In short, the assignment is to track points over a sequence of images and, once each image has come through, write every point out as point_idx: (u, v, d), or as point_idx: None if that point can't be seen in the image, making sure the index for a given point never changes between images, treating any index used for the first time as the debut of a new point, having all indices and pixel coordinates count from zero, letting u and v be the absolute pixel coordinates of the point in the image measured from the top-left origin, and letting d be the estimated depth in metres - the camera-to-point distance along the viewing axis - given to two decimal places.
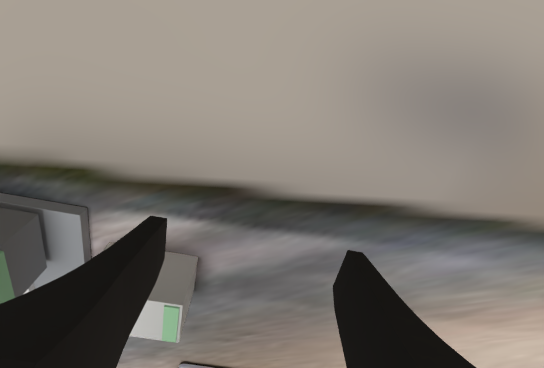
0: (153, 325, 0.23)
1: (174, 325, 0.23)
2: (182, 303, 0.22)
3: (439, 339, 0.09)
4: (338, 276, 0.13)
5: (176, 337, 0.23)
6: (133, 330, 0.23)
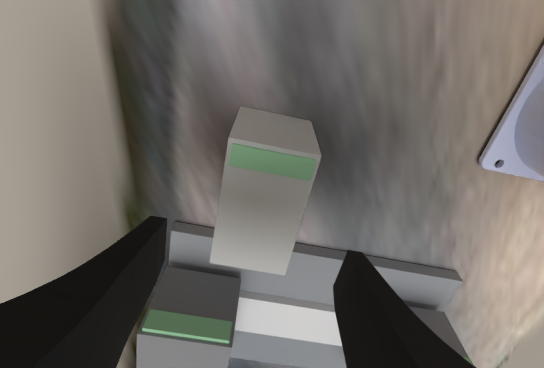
0: (277, 187, 0.14)
1: (273, 157, 0.14)
2: (229, 137, 0.14)
3: (439, 339, 0.09)
4: (338, 276, 0.13)
5: (304, 157, 0.14)
6: (288, 216, 0.15)
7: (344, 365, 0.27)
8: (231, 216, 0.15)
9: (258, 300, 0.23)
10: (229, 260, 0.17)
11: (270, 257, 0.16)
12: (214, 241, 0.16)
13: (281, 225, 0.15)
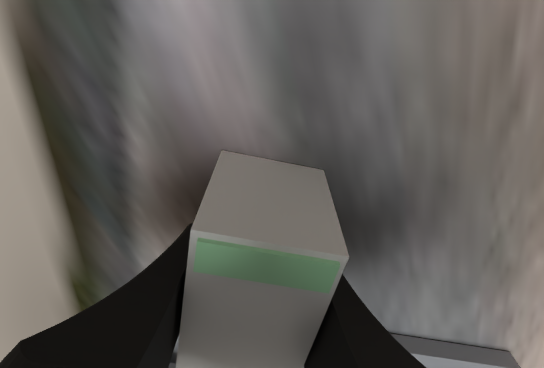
0: (274, 299, 0.09)
1: (268, 259, 0.08)
2: (193, 227, 0.08)
3: (385, 331, 0.08)
4: None
5: (320, 260, 0.08)
6: (293, 335, 0.10)
7: None
8: (202, 336, 0.10)
9: None
10: None
11: None
12: (178, 366, 0.10)
13: (282, 348, 0.10)
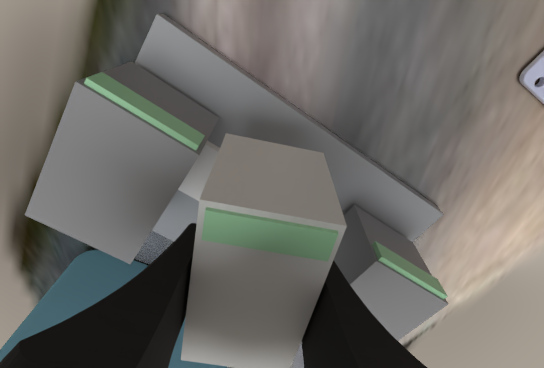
0: (277, 267, 0.09)
1: (271, 228, 0.09)
2: (202, 197, 0.09)
3: (385, 331, 0.08)
4: None
5: (319, 229, 0.09)
6: (294, 304, 0.10)
7: None
8: (209, 305, 0.10)
9: None
10: (208, 357, 0.12)
11: (267, 354, 0.11)
12: (186, 335, 0.11)
13: (283, 316, 0.10)
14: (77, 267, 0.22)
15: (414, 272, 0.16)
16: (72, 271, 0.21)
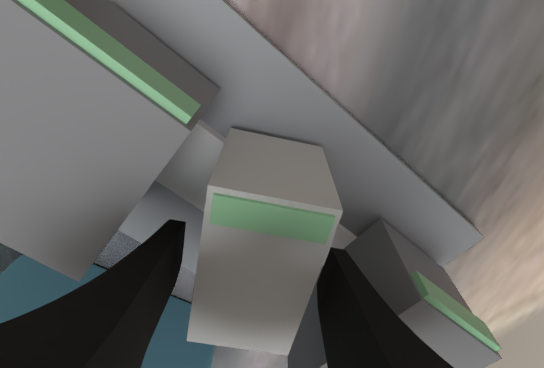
0: (278, 250, 0.10)
1: (273, 212, 0.09)
2: (210, 183, 0.09)
3: (414, 335, 0.09)
4: (321, 273, 0.13)
5: (318, 213, 0.09)
6: (294, 286, 0.11)
7: None
8: (214, 286, 0.11)
9: None
10: (213, 338, 0.12)
11: (268, 335, 0.12)
12: (192, 316, 0.12)
13: (284, 298, 0.11)
14: (17, 271, 0.17)
15: (463, 315, 0.12)
16: (9, 277, 0.16)
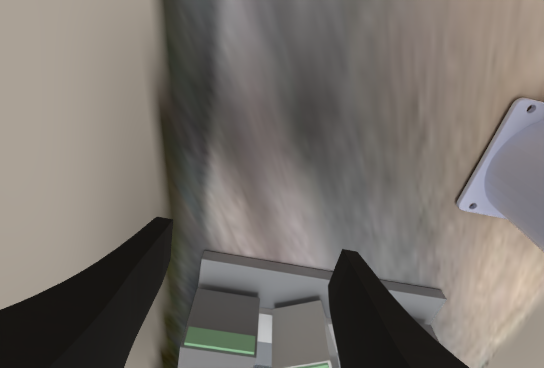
0: None
1: None
2: (272, 367, 0.22)
3: (431, 338, 0.09)
4: (333, 275, 0.13)
5: (319, 365, 0.21)
6: None
7: None
8: None
9: None
10: None
11: None
12: None
13: None
14: None
15: None
16: None
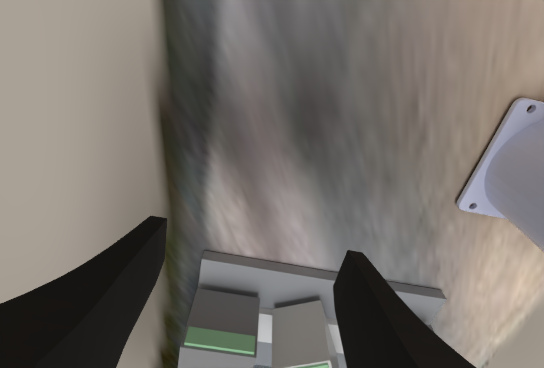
0: None
1: None
2: (272, 367, 0.22)
3: (439, 339, 0.09)
4: (338, 276, 0.13)
5: (319, 365, 0.21)
6: None
7: None
8: None
9: None
10: None
11: None
12: None
13: None
14: None
15: None
16: None
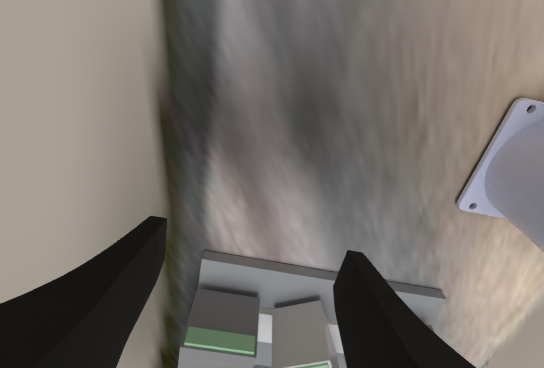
0: None
1: None
2: (272, 367, 0.22)
3: (439, 339, 0.09)
4: (338, 276, 0.13)
5: (319, 365, 0.21)
6: None
7: None
8: None
9: None
10: None
11: None
12: None
13: None
14: None
15: None
16: None
